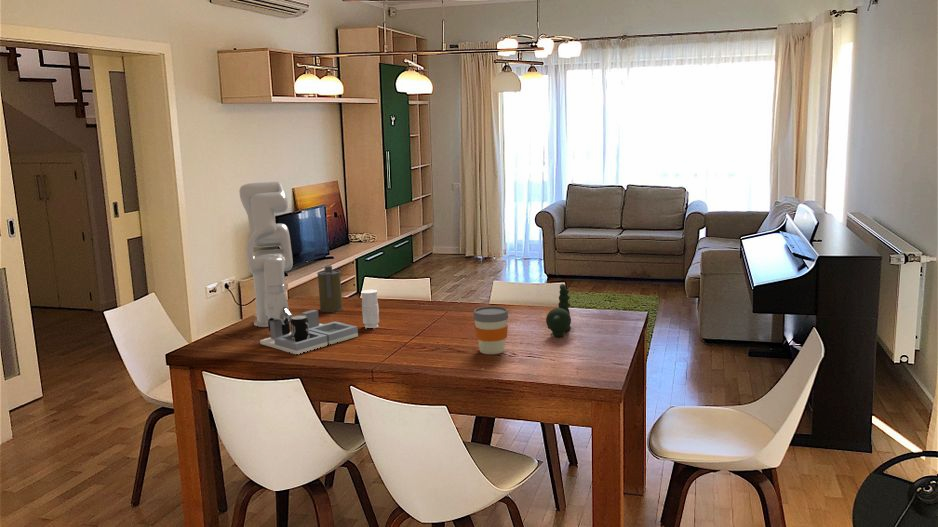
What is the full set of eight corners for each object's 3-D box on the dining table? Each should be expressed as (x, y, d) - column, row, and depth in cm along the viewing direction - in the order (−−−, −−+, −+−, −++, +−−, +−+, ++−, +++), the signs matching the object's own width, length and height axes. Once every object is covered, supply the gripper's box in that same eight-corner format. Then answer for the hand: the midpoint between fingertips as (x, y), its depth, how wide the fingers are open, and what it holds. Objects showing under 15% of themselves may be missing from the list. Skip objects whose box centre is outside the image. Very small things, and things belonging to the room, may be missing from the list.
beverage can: (306, 350, 288) (303, 319, 286) (289, 349, 289) (287, 319, 287) (312, 345, 294) (310, 314, 292) (296, 344, 296) (294, 314, 293)
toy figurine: (553, 328, 311) (543, 340, 287) (552, 282, 309) (542, 290, 285) (576, 329, 308) (568, 341, 284) (576, 282, 306) (568, 291, 282)
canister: (320, 307, 354) (317, 264, 350) (343, 305, 355) (340, 263, 351) (318, 313, 343) (315, 269, 339) (342, 311, 344) (339, 268, 340)
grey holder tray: (260, 343, 298) (258, 322, 296) (290, 335, 308) (288, 314, 307) (297, 354, 282) (295, 332, 281) (327, 345, 292) (325, 323, 291)
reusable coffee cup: (475, 345, 285) (473, 306, 283) (508, 344, 285) (507, 305, 282) (474, 356, 273) (472, 315, 270) (509, 355, 273) (508, 314, 270)
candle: (369, 330, 312) (366, 294, 310) (359, 326, 318) (357, 291, 315) (383, 326, 317) (381, 291, 314) (373, 323, 322) (371, 288, 319)
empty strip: (292, 334, 309) (290, 314, 307) (320, 327, 319) (319, 307, 317) (329, 344, 293) (328, 323, 291) (358, 336, 303) (356, 315, 302)
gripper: (254, 288, 300) (258, 331, 303) (280, 293, 289) (284, 338, 292) (271, 284, 306) (274, 326, 309) (296, 289, 294) (300, 333, 297)
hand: (279, 332), depth 300 cm, fingers open, 8 cm apart
